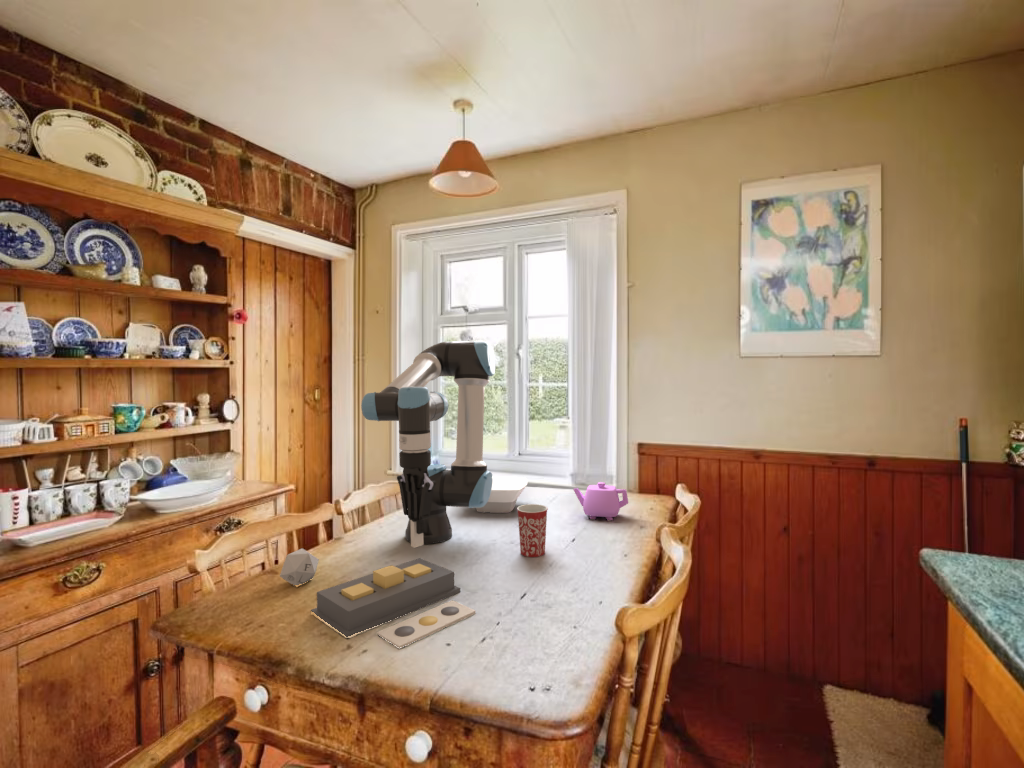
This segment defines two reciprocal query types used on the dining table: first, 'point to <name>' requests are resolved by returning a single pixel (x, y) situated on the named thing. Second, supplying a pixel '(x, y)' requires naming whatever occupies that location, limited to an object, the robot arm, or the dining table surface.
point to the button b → (388, 576)
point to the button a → (357, 591)
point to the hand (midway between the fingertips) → (417, 545)
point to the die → (299, 567)
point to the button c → (416, 570)
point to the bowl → (504, 494)
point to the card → (426, 623)
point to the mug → (532, 529)
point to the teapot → (602, 500)
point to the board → (384, 599)
